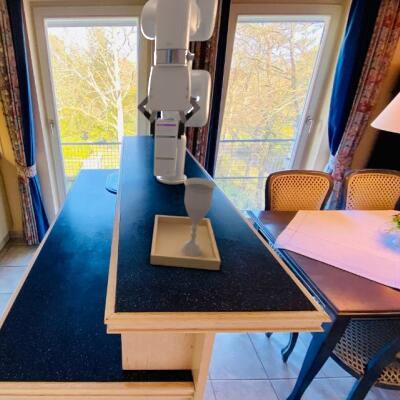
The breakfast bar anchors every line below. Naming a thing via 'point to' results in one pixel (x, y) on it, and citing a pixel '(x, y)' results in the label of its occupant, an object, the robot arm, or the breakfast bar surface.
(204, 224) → the tray
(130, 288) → the breakfast bar surface
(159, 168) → the syrup box
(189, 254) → the chalice
